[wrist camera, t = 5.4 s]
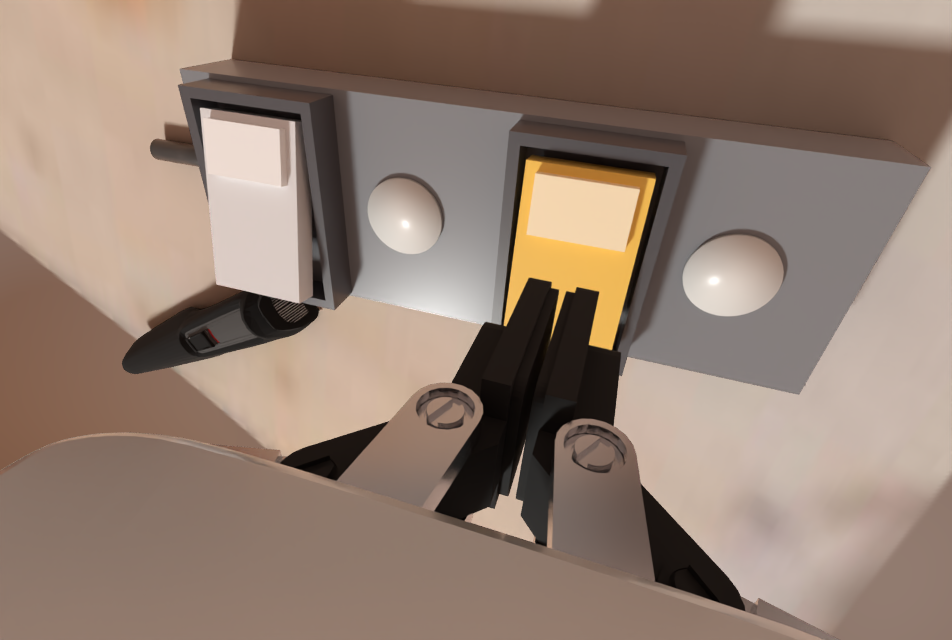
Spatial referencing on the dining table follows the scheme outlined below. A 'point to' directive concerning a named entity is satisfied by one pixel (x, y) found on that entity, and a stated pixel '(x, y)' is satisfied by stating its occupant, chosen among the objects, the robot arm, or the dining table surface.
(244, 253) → the white rocker switch
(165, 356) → the electric trimmer
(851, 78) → the dining table surface
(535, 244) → the amber rocker
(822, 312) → the power strip
